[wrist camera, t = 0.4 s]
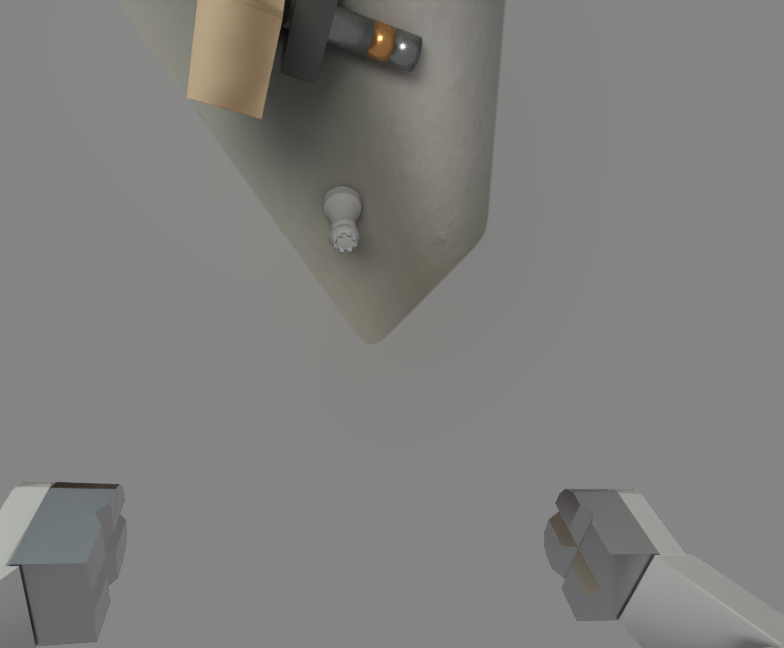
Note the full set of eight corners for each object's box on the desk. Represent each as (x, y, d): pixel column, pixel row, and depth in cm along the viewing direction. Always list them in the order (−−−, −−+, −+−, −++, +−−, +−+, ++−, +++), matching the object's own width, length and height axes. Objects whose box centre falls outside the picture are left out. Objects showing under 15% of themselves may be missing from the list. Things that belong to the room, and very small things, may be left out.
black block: (283, 46, 50) (280, 72, 46) (301, -39, 45) (300, -19, 41) (315, 57, 51) (315, 84, 47) (336, -26, 46) (339, -4, 42)
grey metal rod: (248, 8, 48) (245, 19, 46) (254, -30, 46) (252, -20, 44) (407, 64, 52) (411, 76, 50) (419, 32, 51) (424, 43, 48)
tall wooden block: (215, 21, 48) (186, 97, 37) (227, -67, 44) (198, -11, 33) (272, 41, 50) (261, 119, 39) (289, -43, 45) (282, 18, 34)
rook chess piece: (365, 212, 64) (371, 254, 58) (329, 221, 64) (330, 264, 59) (355, 179, 61) (360, 221, 55) (317, 189, 61) (317, 232, 56)
